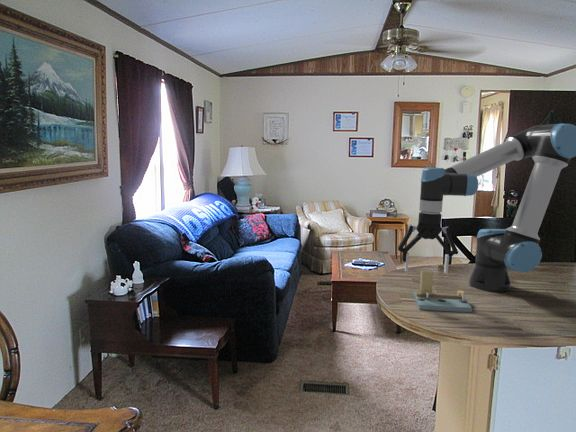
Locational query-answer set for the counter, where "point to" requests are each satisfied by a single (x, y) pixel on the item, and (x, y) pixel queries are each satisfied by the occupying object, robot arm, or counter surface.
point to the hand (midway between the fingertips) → (425, 272)
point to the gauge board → (443, 302)
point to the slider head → (426, 282)
